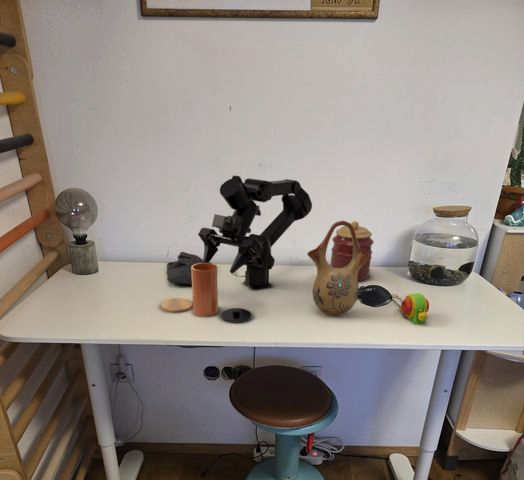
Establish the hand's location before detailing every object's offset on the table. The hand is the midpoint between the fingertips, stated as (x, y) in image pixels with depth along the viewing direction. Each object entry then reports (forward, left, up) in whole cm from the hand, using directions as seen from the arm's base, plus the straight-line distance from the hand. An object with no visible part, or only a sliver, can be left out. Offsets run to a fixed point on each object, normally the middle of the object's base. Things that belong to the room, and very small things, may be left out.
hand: (217, 269), depth 125 cm
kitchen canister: (-49, -1, -11) cm, 50 cm away
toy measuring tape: (-44, +29, -11) cm, 54 cm away
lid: (-1, +9, -10) cm, 14 cm away
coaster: (+10, -5, -10) cm, 15 cm away
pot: (+5, +2, -10) cm, 12 cm away
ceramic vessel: (-25, +20, -11) cm, 34 cm away
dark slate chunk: (-3, -26, -11) cm, 28 cm away
